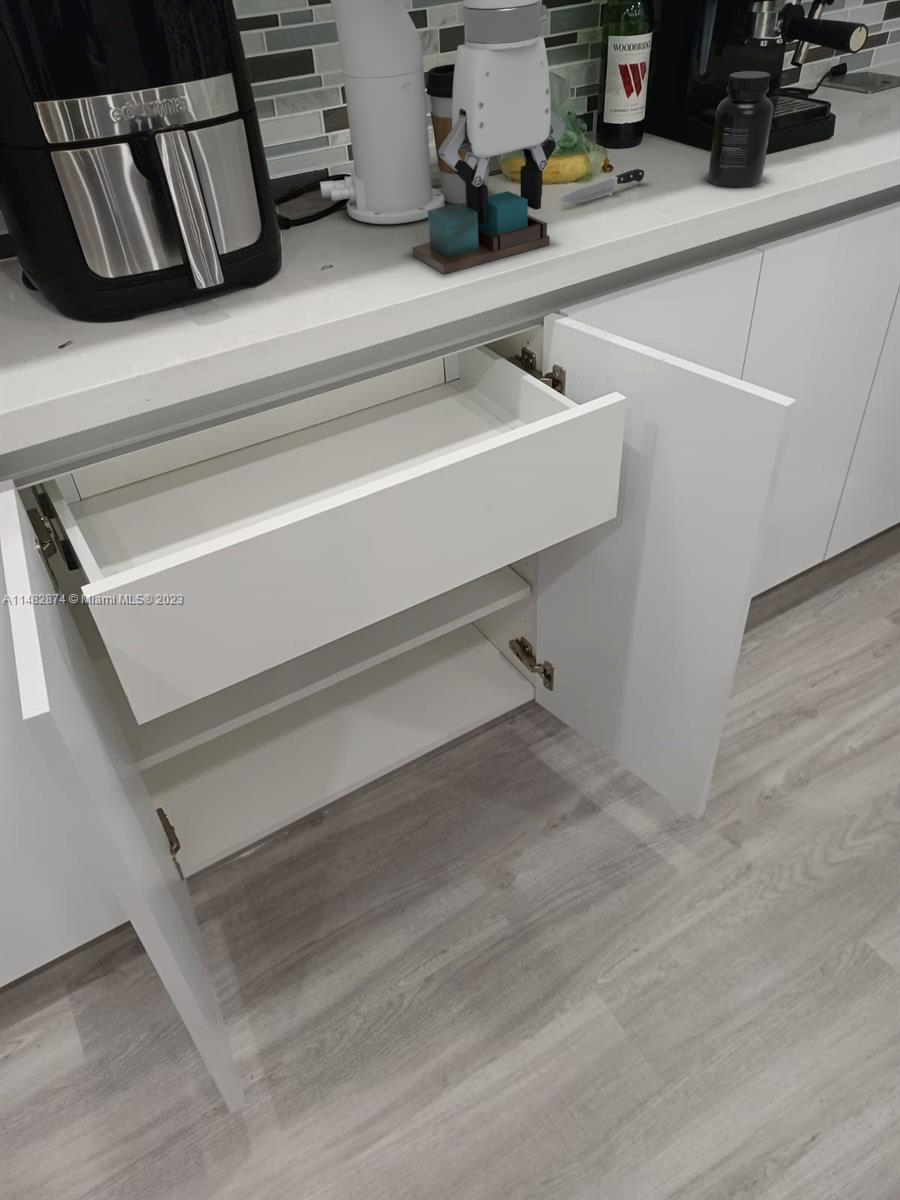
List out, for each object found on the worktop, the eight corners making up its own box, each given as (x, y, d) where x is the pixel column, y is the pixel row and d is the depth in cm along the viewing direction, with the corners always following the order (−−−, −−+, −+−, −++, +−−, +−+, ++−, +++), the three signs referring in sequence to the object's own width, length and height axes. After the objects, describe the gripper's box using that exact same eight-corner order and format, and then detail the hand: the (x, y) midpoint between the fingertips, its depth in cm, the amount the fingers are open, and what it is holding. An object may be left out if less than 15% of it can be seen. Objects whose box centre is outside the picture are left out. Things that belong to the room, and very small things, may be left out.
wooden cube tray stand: (444, 274, 94) (441, 227, 91) (412, 255, 99) (408, 209, 96) (549, 244, 99) (550, 198, 96) (514, 228, 104) (514, 184, 101)
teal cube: (498, 244, 98) (497, 207, 95) (479, 234, 100) (478, 198, 98) (527, 236, 99) (527, 199, 96) (508, 227, 102) (508, 190, 99)
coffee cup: (472, 210, 110) (467, 74, 100) (420, 201, 114) (410, 69, 104) (509, 192, 115) (508, 60, 105) (458, 183, 119) (452, 56, 109)
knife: (561, 212, 107) (561, 195, 106) (557, 211, 108) (557, 194, 107) (643, 184, 114) (644, 168, 112) (639, 183, 114) (640, 167, 113)
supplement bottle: (773, 181, 112) (792, 74, 104) (733, 192, 109) (749, 83, 101) (735, 169, 116) (750, 66, 108) (696, 179, 114) (708, 74, 106)
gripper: (549, 10, 92) (547, 190, 104) (407, 34, 86) (422, 222, 98) (594, 17, 87) (586, 204, 99) (447, 43, 81) (457, 240, 93)
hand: (504, 212), depth 98 cm, fingers open, 6 cm apart
